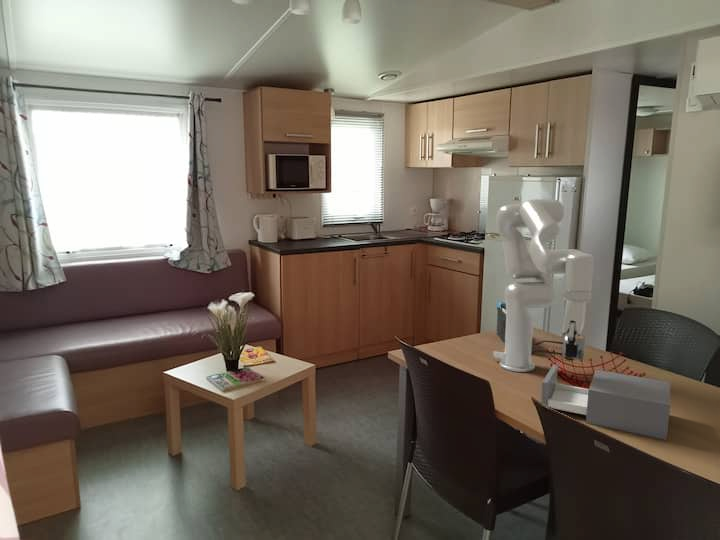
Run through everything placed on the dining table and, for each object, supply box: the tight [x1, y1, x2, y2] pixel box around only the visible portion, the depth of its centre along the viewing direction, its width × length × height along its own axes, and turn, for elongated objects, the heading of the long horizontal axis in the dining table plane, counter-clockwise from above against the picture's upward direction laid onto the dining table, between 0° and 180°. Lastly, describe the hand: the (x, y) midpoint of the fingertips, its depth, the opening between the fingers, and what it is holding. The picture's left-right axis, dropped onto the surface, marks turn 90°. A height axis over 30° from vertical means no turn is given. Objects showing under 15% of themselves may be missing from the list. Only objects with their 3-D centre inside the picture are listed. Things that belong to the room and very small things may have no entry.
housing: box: [585, 369, 671, 441], centre depth 151 cm, size 20×18×10 cm
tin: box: [561, 333, 586, 360], centre depth 157 cm, size 6×6×6 cm
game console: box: [495, 301, 506, 344], centre depth 221 cm, size 28×6×15 cm, turn 2°
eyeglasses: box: [531, 339, 567, 359], centre depth 210 cm, size 15×15×5 cm
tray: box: [540, 364, 589, 416], centre depth 158 cm, size 19×17×8 cm
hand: (572, 353), depth 157 cm, fingers closed on tin, 6 cm apart
